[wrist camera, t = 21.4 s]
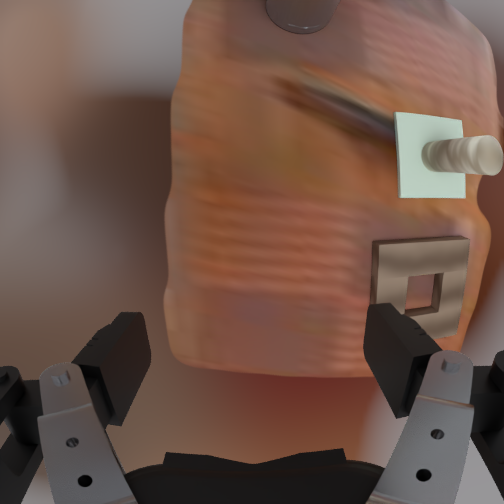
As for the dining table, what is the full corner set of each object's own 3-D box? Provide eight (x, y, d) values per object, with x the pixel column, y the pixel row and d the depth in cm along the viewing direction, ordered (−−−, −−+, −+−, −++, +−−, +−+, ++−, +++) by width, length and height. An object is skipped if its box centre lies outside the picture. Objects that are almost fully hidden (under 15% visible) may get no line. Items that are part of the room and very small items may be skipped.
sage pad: (393, 112, 38) (395, 111, 37) (458, 120, 38) (461, 120, 37) (398, 197, 41) (400, 197, 40) (462, 197, 40) (465, 198, 40)
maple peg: (420, 140, 38) (476, 133, 25) (444, 142, 38) (501, 137, 25) (422, 171, 39) (478, 174, 26) (445, 172, 39) (503, 176, 26)
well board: (372, 241, 42) (379, 244, 40) (460, 235, 42) (469, 239, 39) (366, 342, 46) (371, 350, 43) (449, 328, 46) (456, 334, 43)
